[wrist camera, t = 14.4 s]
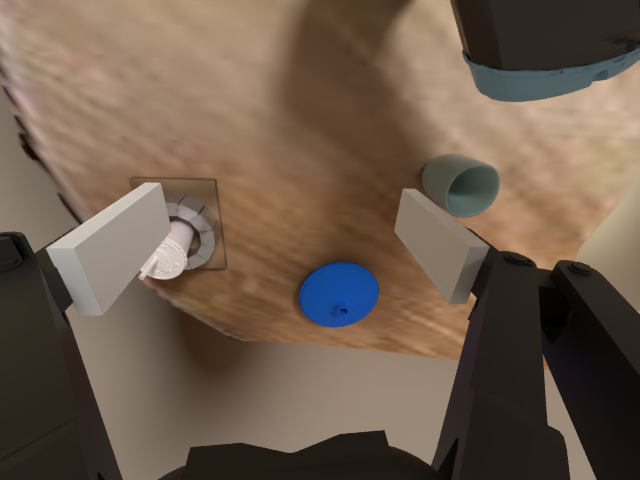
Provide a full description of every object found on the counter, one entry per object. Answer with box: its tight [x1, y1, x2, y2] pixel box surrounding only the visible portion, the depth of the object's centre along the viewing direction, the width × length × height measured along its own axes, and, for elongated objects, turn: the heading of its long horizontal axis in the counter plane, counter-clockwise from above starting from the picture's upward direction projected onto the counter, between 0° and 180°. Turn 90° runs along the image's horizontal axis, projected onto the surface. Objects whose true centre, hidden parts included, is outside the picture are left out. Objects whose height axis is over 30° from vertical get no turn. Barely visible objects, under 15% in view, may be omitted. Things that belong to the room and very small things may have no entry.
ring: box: [164, 194, 220, 270], centre depth 43 cm, size 12×12×4 cm
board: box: [129, 177, 227, 269], centre depth 45 cm, size 16×12×1 cm
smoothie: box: [139, 218, 195, 280], centre depth 38 cm, size 6×6×14 cm
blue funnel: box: [299, 262, 379, 327], centre depth 52 cm, size 16×16×7 cm
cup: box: [422, 154, 500, 218], centre depth 41 cm, size 8×8×10 cm
